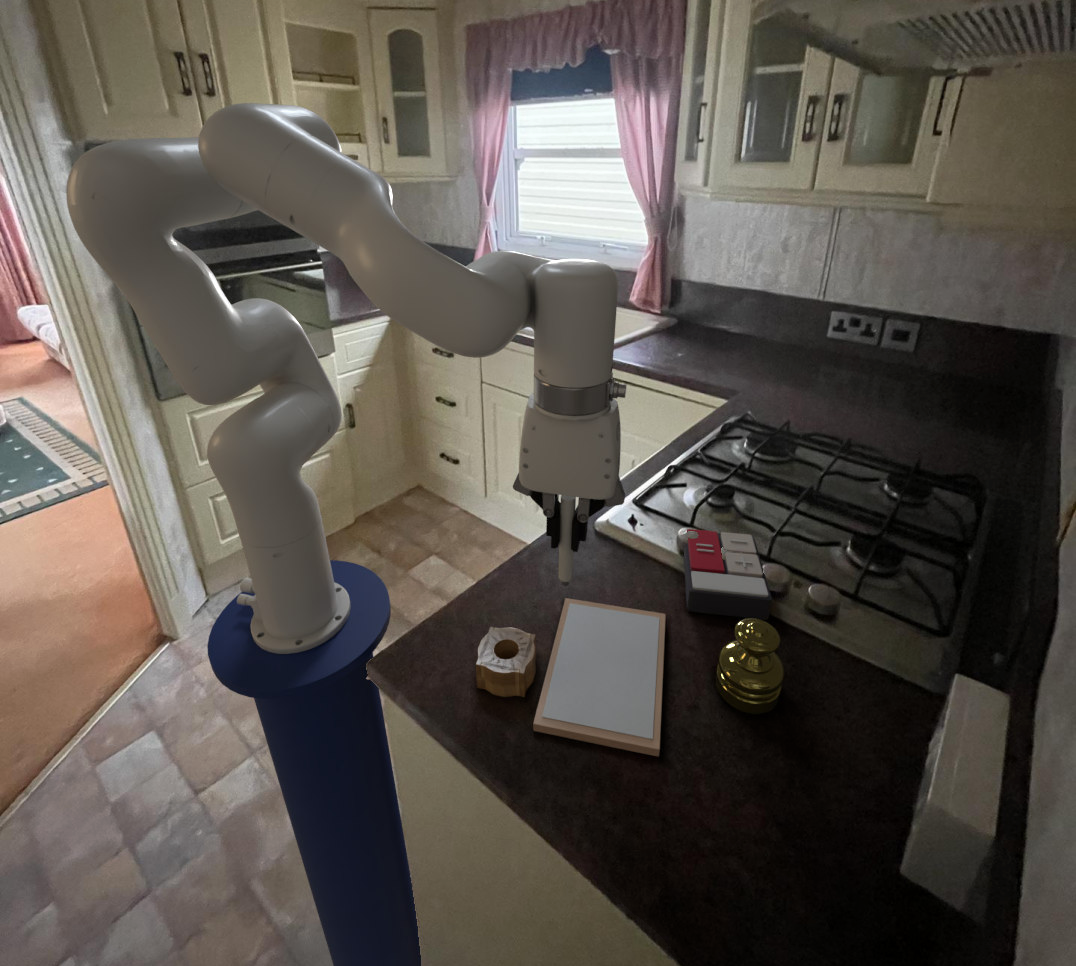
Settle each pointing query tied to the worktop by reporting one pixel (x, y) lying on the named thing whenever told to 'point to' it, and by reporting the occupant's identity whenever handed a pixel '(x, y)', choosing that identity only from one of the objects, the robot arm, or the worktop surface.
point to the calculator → (725, 576)
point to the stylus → (566, 539)
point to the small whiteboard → (605, 677)
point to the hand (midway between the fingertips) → (566, 541)
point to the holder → (506, 662)
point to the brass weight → (751, 668)
